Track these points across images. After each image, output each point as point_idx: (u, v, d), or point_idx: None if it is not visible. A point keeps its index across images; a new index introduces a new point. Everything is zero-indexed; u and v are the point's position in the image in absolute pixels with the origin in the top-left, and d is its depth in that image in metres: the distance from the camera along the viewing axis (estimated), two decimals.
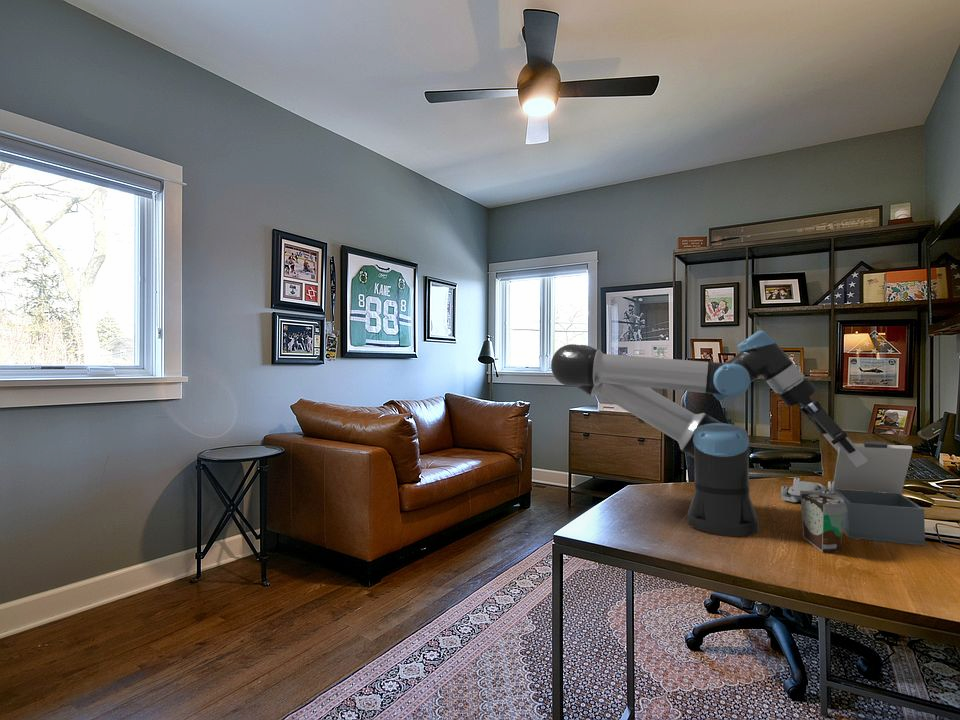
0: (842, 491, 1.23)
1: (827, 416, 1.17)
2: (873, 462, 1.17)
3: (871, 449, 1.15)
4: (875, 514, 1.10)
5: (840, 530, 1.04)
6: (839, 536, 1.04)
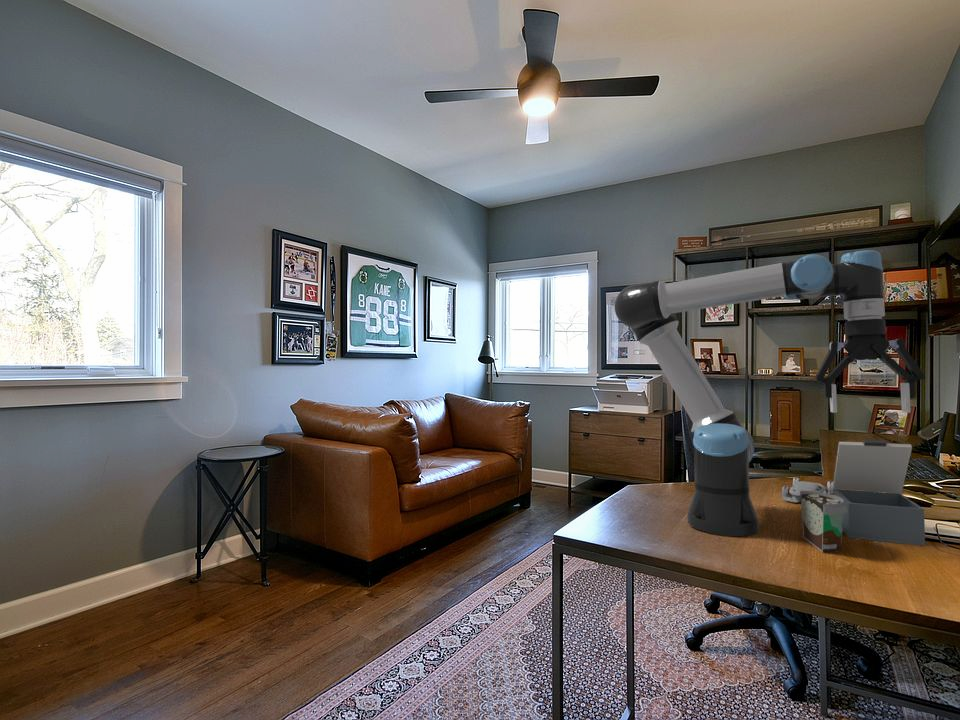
0: (842, 491, 1.23)
1: (826, 359, 1.19)
2: (873, 461, 1.17)
3: (870, 448, 1.16)
4: (875, 514, 1.10)
5: (840, 530, 1.04)
6: (839, 536, 1.04)
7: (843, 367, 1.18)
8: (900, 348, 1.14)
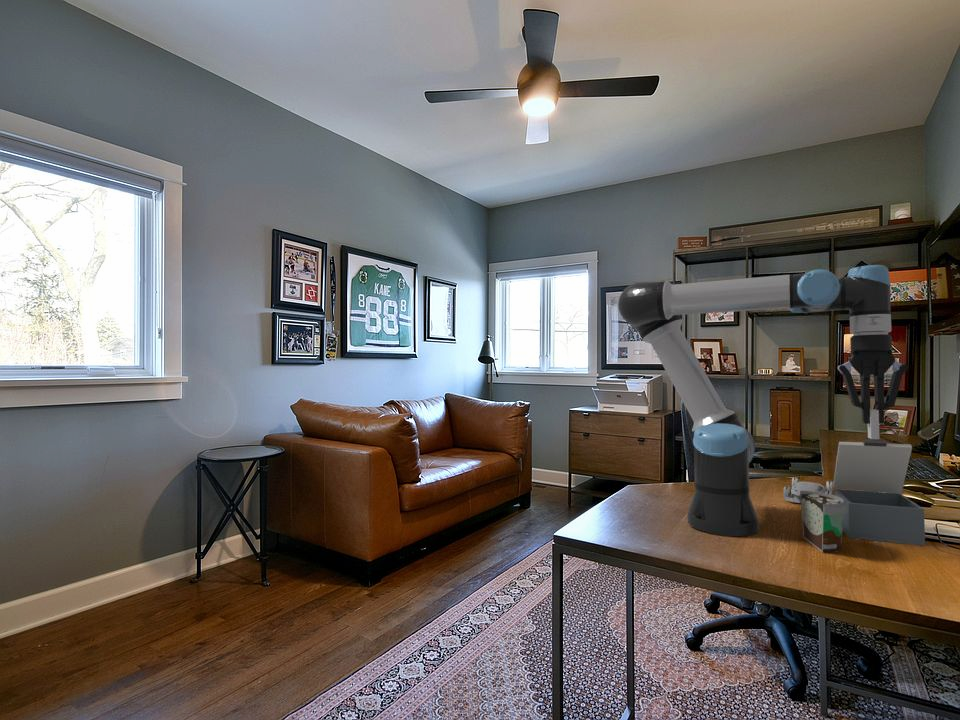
0: (842, 491, 1.23)
1: (847, 384, 1.18)
2: (873, 461, 1.17)
3: (870, 448, 1.16)
4: (875, 514, 1.10)
5: (840, 530, 1.04)
6: (839, 536, 1.04)
7: (867, 387, 1.16)
8: (898, 372, 1.14)
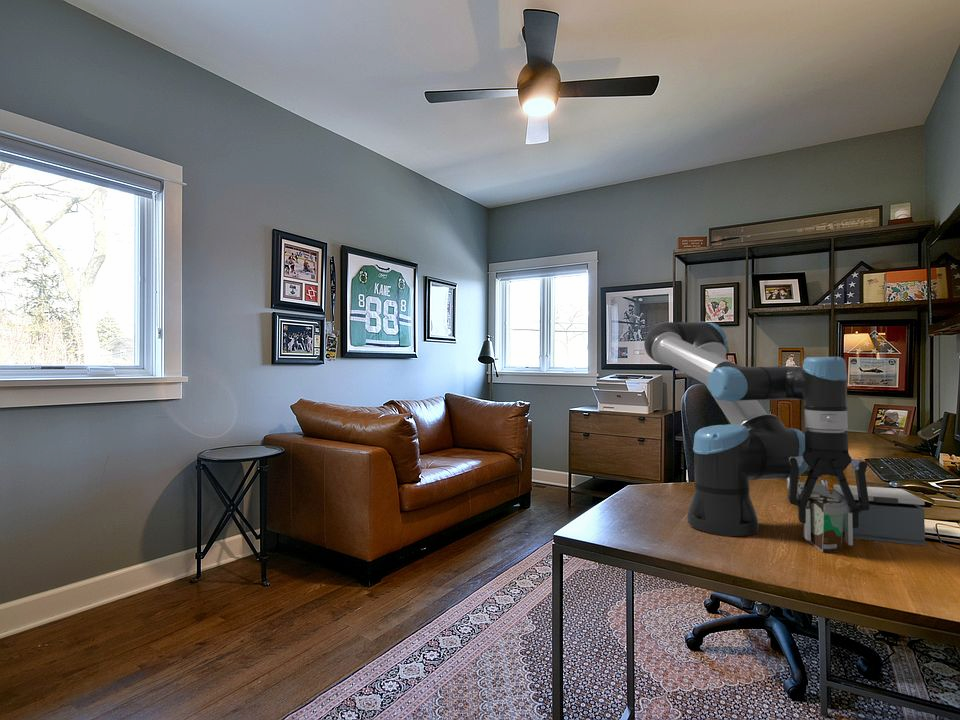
0: None
1: (791, 478, 1.09)
2: None
3: None
4: (875, 514, 1.10)
5: (840, 530, 1.04)
6: (839, 536, 1.04)
7: (811, 486, 1.07)
8: (859, 471, 1.04)
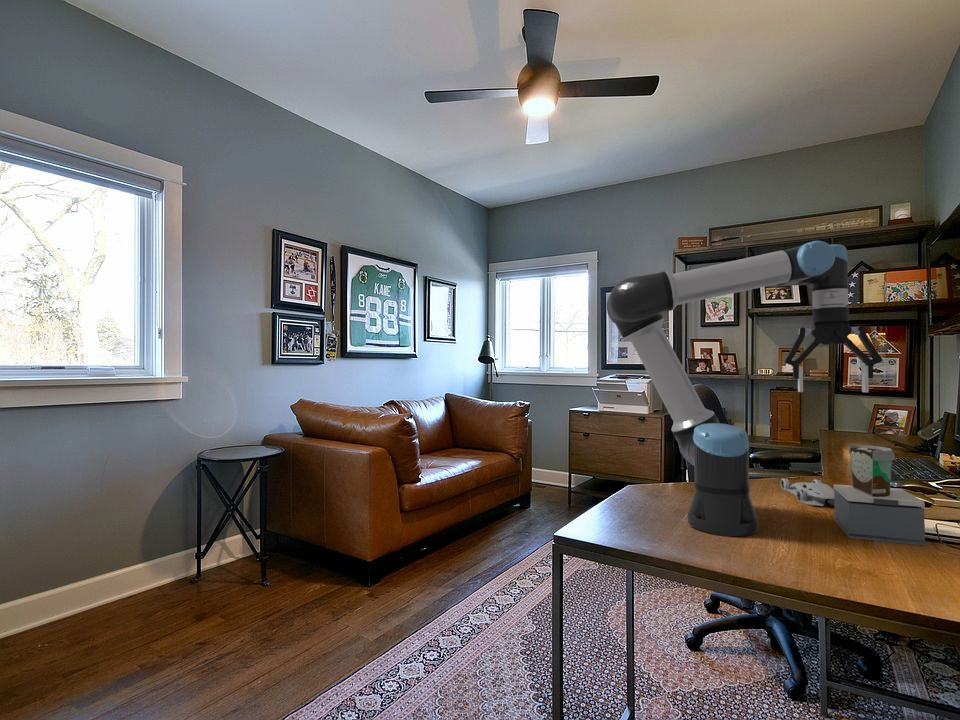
0: None
1: (795, 343, 1.31)
2: None
3: None
4: (875, 514, 1.10)
5: (889, 476, 1.12)
6: (888, 482, 1.12)
7: (809, 351, 1.30)
8: (861, 334, 1.26)
